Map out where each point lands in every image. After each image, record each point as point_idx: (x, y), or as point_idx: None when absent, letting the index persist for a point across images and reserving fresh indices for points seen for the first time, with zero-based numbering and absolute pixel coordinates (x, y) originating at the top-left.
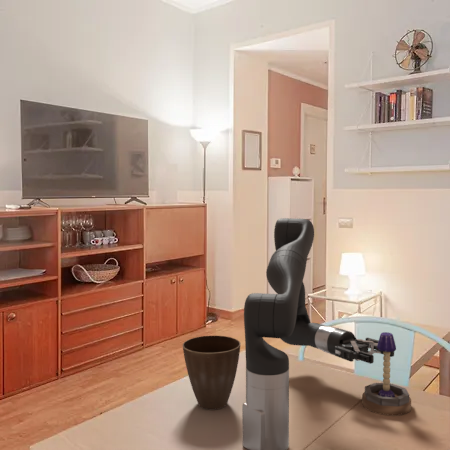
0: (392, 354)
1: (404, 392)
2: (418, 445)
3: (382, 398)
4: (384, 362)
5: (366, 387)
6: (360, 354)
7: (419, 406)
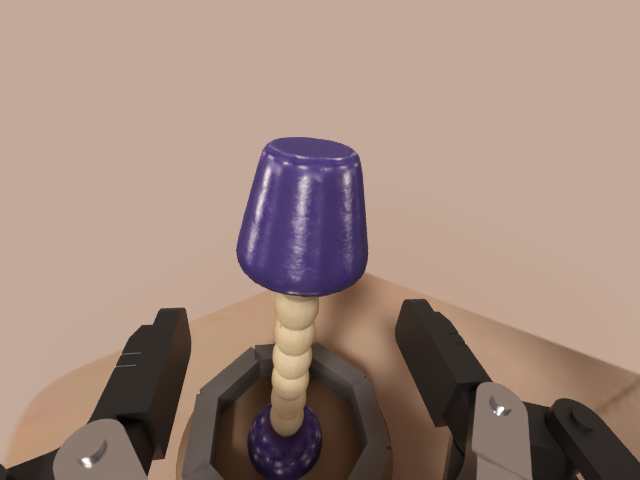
0: (189, 333)
1: (243, 368)
2: (381, 278)
3: (362, 374)
4: (314, 323)
5: None
6: (481, 368)
7: (199, 380)
